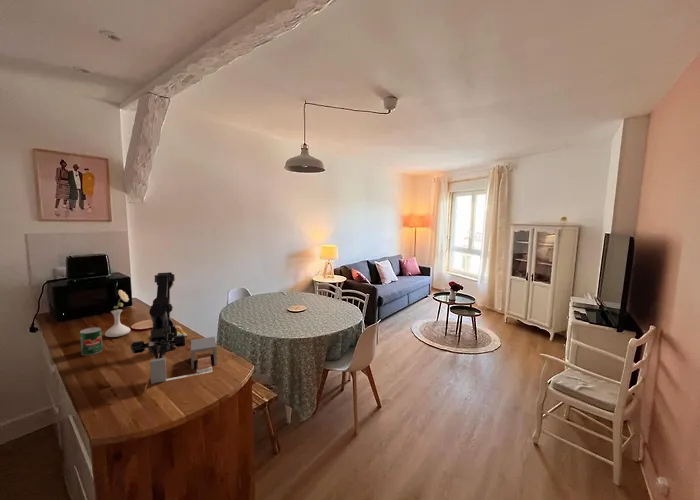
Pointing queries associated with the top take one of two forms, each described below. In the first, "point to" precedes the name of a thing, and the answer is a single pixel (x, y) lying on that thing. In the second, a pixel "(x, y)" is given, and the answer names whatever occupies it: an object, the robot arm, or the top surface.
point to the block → (204, 361)
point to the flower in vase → (118, 319)
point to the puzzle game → (180, 331)
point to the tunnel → (203, 348)
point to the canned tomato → (91, 341)
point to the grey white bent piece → (160, 371)
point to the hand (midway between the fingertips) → (158, 364)
